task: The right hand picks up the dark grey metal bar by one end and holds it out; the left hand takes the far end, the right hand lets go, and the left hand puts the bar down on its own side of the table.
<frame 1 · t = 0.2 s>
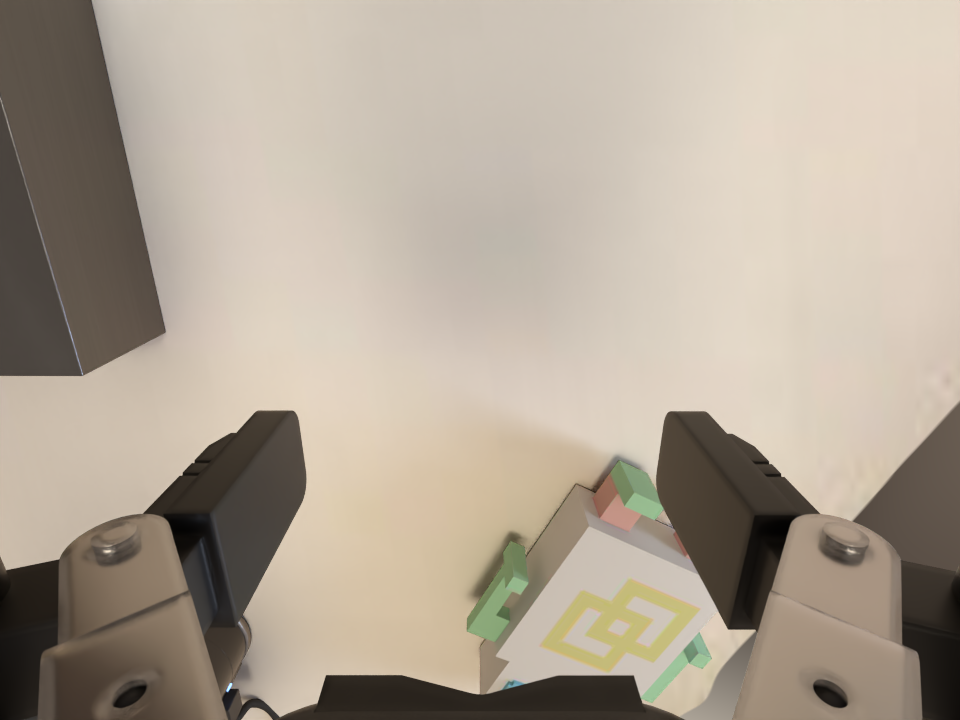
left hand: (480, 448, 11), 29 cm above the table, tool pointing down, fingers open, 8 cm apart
decorative block: (593, 578, 50), on the table
bar: (92, 178, 37), on the table
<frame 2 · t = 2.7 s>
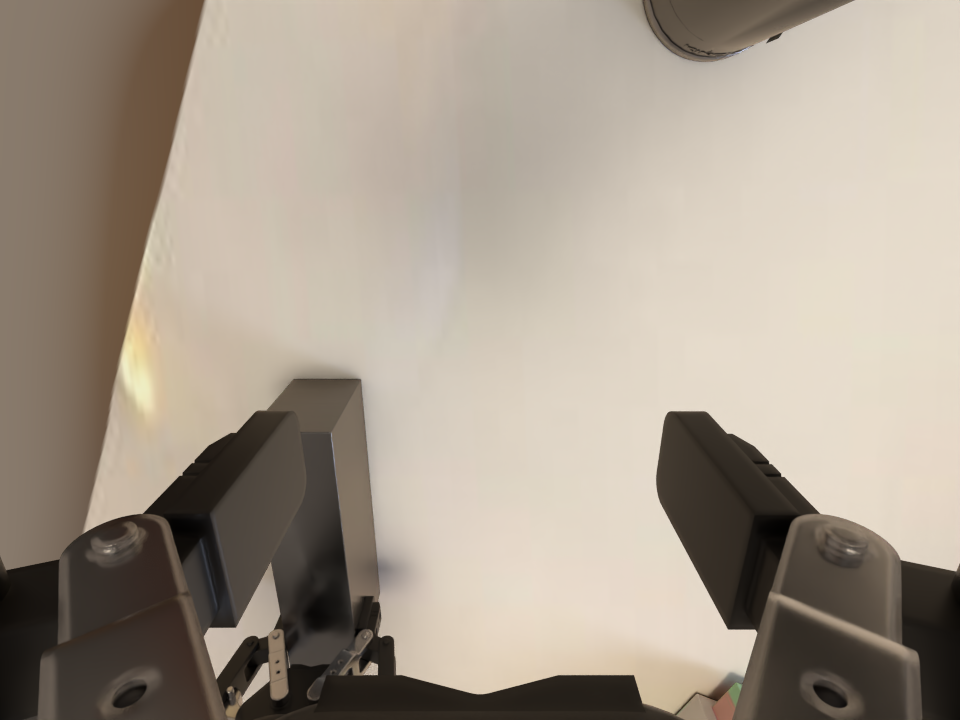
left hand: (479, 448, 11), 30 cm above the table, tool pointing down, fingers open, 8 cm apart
bar: (340, 495, 47), on the table, touching right hand
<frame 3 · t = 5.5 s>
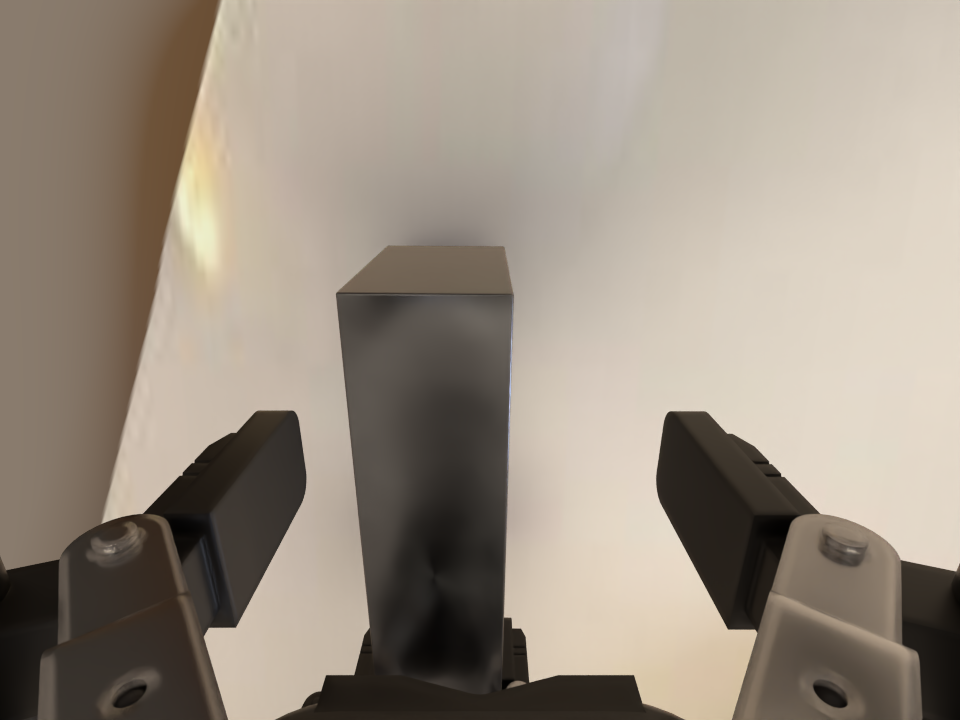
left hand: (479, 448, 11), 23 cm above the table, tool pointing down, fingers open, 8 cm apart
bar: (449, 453, 29), point 8 cm above the table, touching right hand
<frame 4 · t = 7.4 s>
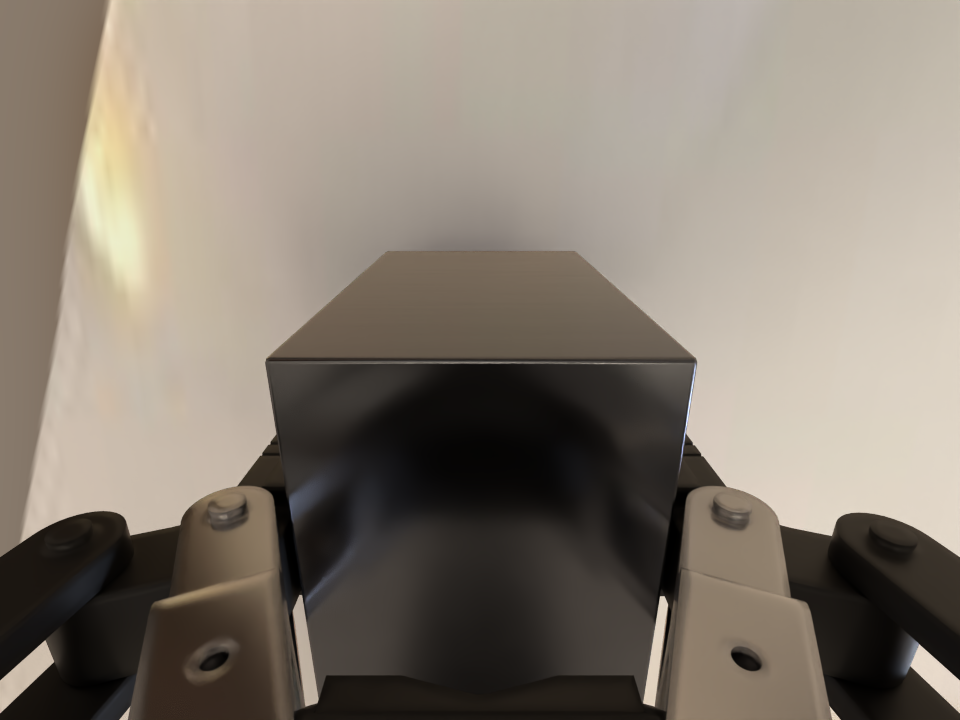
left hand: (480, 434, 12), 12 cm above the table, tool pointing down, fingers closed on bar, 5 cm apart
bar: (481, 562, 19), point 8 cm above the table, touching left hand, right hand
when the right hand's fingers open (12 cm above the table, at t = 8.6 s): bar stays where it is, held by the left hand.
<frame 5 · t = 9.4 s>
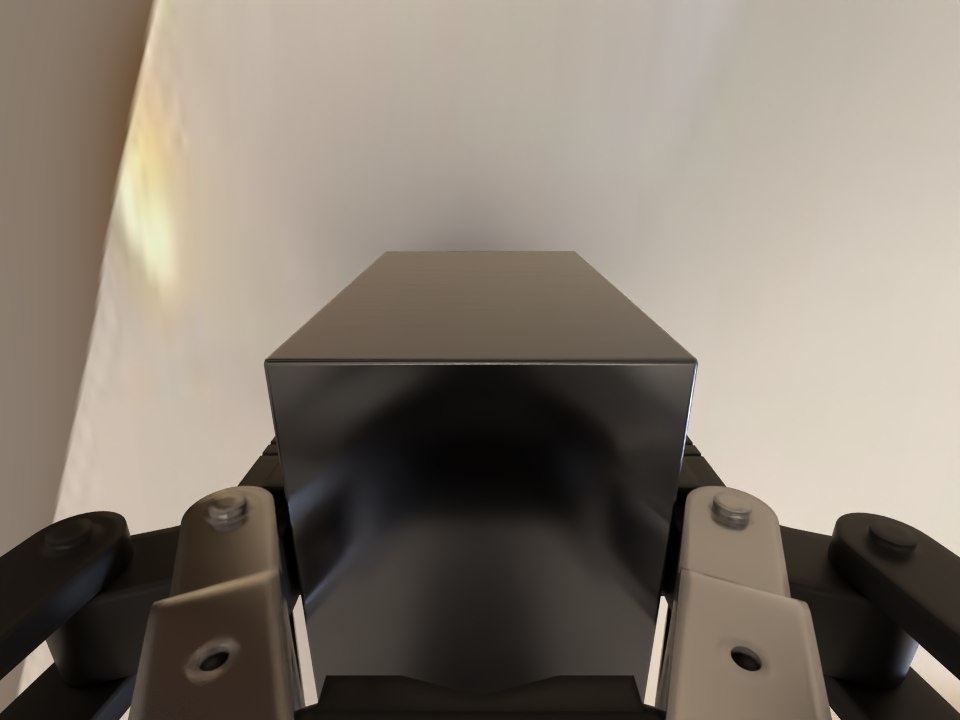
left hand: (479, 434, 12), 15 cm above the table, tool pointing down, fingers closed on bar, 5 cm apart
bar: (480, 563, 19), point 10 cm above the table, touching left hand
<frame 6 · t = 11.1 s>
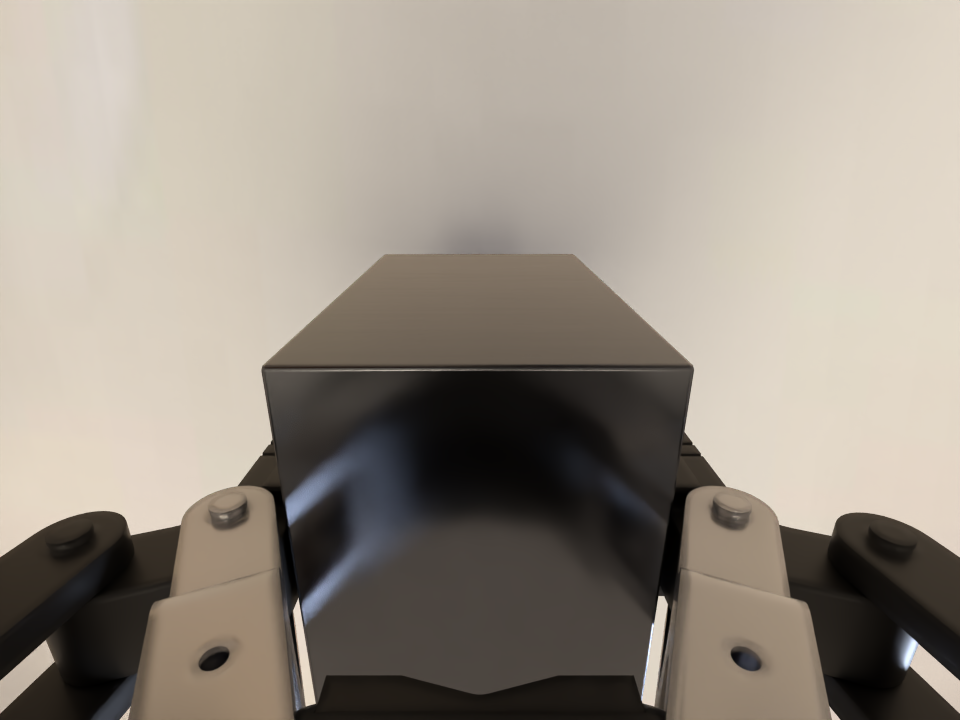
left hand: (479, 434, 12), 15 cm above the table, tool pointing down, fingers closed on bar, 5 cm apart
bar: (479, 565, 19), point 10 cm above the table, touching left hand
when the left hand's fingers open (6 cm above the table, at t = 15.0 s): bar drops 2 cm, on the table.
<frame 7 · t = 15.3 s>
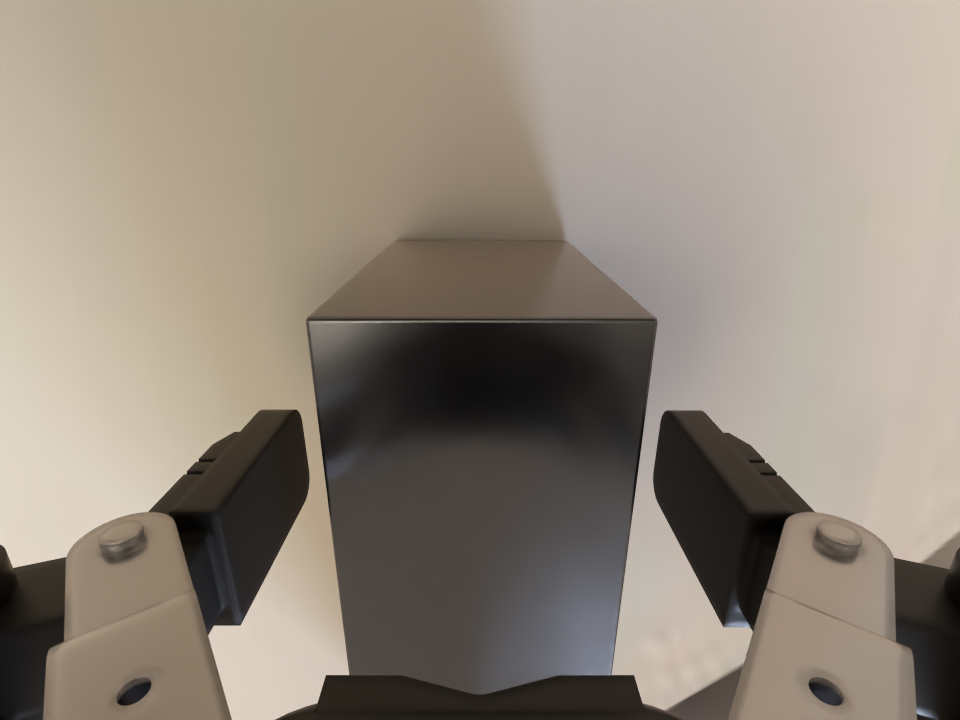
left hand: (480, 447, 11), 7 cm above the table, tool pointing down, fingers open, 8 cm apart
bar: (480, 530, 21), on the table
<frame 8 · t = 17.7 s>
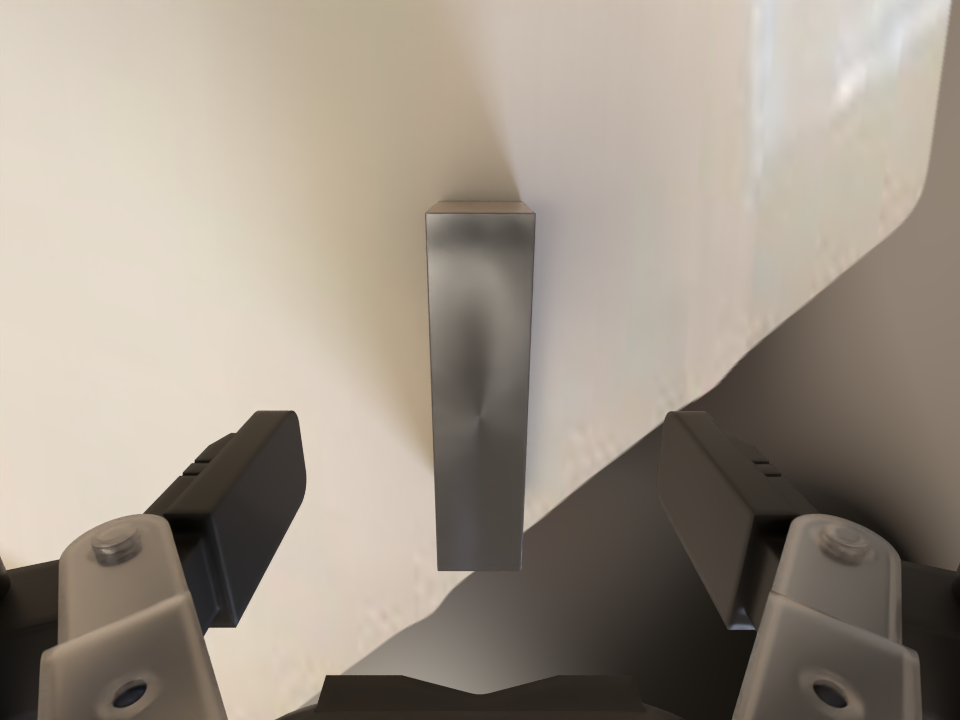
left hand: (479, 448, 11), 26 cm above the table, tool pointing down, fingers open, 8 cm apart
bar: (480, 361, 39), on the table
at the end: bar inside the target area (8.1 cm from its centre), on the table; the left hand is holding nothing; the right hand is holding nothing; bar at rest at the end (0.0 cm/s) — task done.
